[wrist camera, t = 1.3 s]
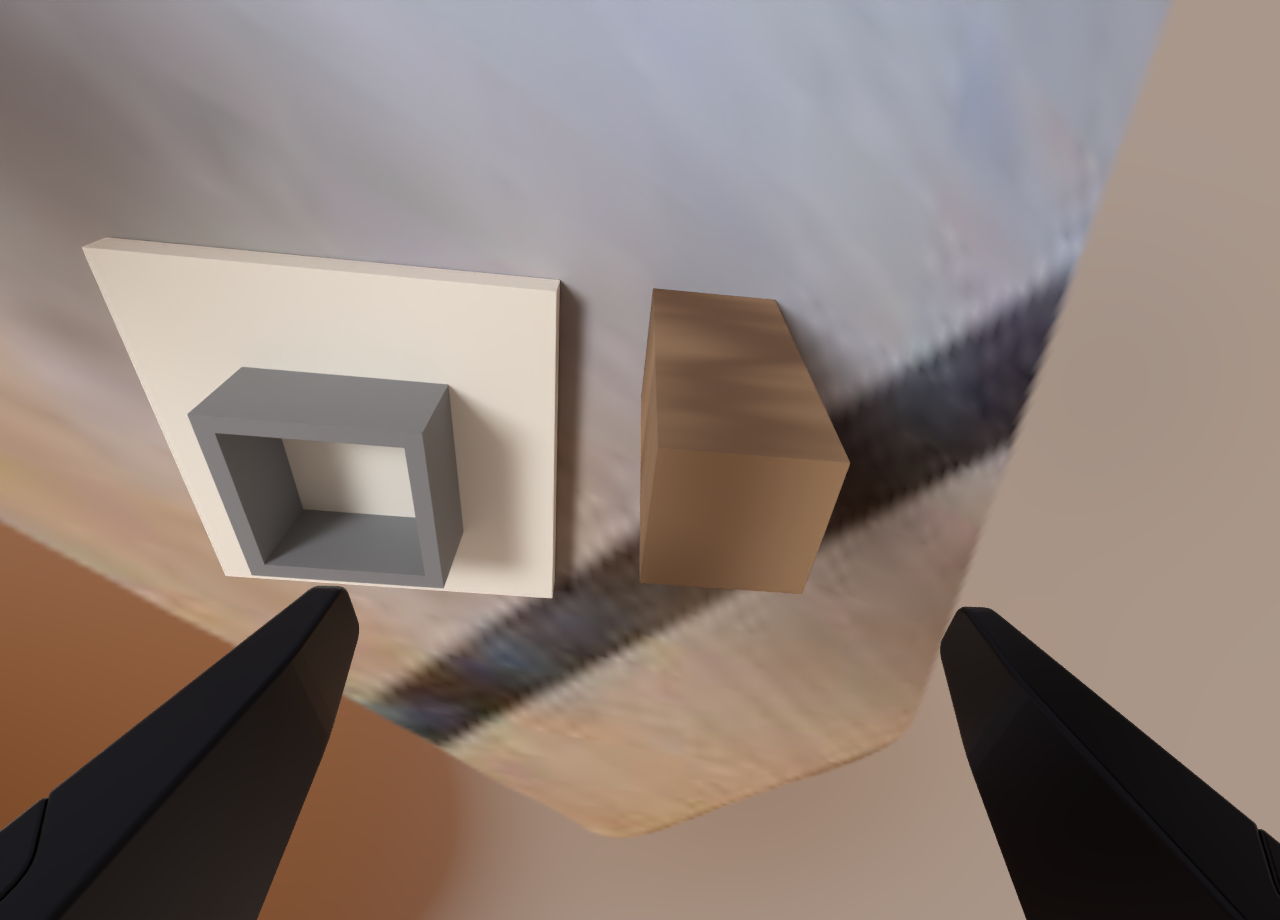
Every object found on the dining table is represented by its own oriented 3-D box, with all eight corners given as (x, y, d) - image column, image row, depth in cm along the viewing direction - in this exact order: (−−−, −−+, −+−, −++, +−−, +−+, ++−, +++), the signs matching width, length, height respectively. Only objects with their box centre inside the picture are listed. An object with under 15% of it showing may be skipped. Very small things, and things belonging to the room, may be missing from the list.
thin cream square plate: (560, 280, 20) (542, 332, 16) (554, 581, 28) (542, 656, 24) (105, 237, 19) (-7, 282, 16) (238, 559, 27) (182, 632, 24)
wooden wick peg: (775, 299, 20) (850, 463, 13) (750, 405, 22) (802, 594, 15) (653, 288, 20) (658, 447, 12) (641, 395, 22) (639, 582, 15)
